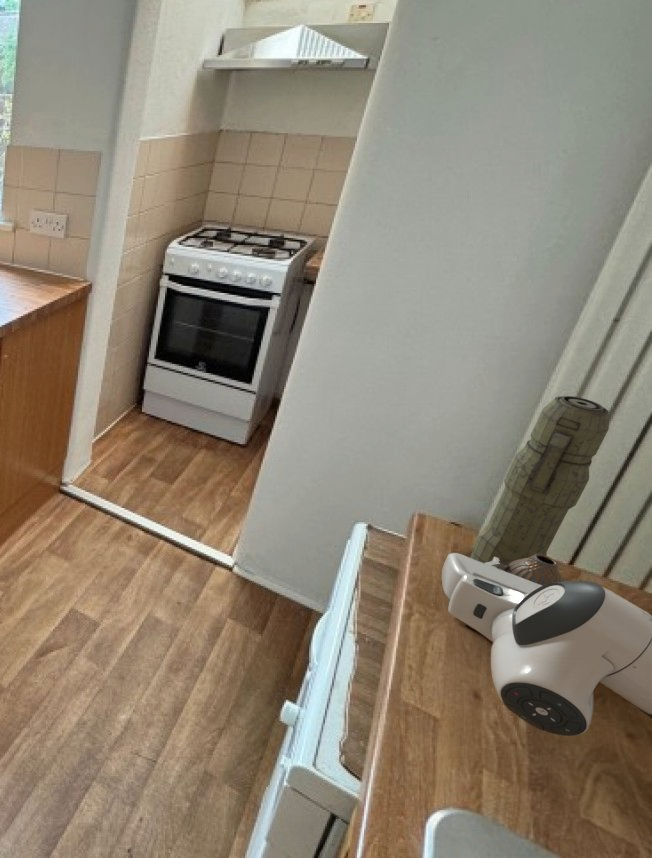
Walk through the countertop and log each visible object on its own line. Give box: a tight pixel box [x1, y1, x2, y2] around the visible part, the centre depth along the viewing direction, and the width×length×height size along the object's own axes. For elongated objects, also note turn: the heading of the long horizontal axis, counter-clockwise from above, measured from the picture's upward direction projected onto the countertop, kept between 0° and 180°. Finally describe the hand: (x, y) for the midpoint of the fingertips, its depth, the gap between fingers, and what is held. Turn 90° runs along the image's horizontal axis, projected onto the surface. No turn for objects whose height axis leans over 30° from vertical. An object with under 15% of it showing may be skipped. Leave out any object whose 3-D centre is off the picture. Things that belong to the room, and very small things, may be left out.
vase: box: [504, 554, 565, 586], centre depth 90 cm, size 7×7×9 cm
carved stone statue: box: [469, 395, 610, 565], centre depth 102 cm, size 9×12×35 cm
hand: (534, 575), depth 90 cm, fingers closed on vase, 7 cm apart
